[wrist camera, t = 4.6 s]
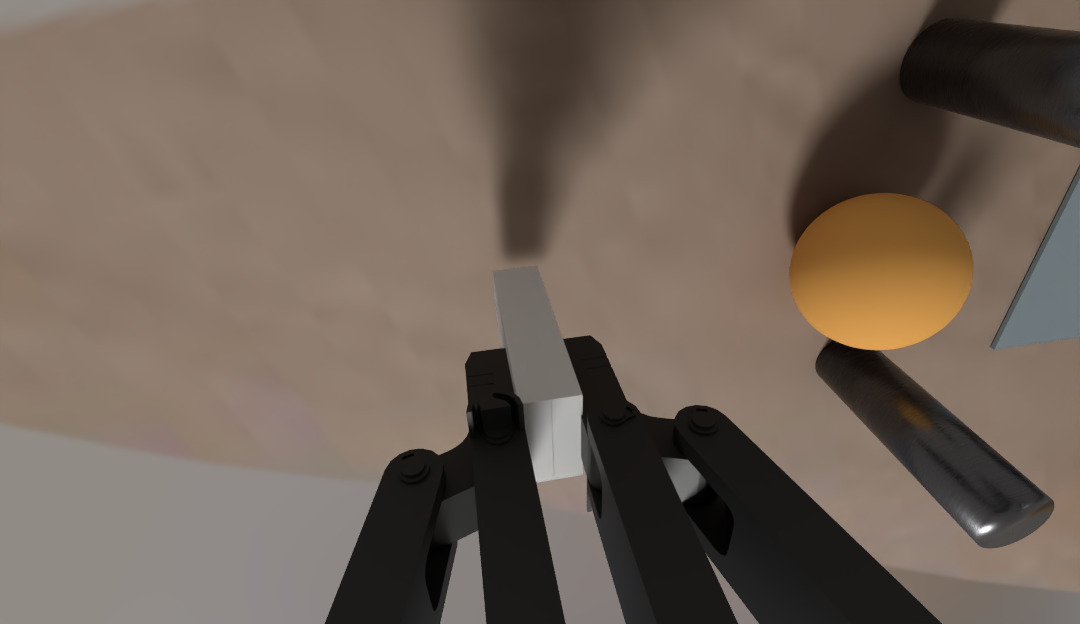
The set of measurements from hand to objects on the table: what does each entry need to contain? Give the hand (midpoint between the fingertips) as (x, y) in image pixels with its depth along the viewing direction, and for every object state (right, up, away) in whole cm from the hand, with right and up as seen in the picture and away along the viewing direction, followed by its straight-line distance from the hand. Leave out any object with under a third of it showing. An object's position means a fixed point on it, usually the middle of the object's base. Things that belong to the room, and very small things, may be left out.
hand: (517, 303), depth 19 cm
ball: (+13, +1, +1) cm, 13 cm away
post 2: (+15, -2, +7) cm, 16 cm away
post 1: (+14, +8, 0) cm, 16 cm away
